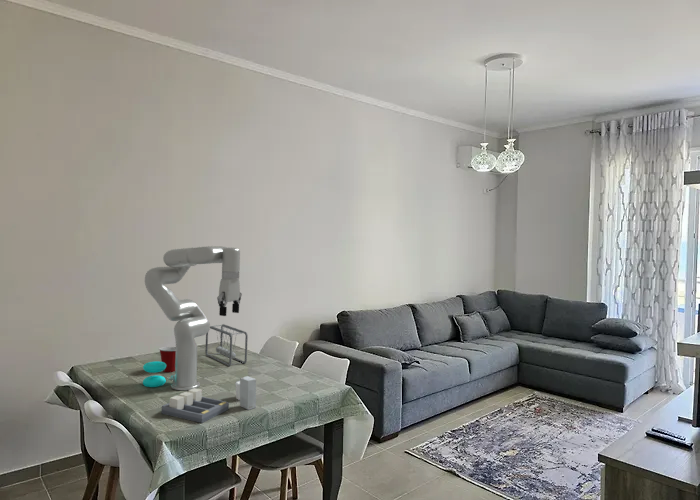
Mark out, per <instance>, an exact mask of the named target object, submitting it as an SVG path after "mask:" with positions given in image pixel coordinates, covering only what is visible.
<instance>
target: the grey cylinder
mask: <svg viewBox="0 0 700 500" xmlns="http://www.w3.org/2000/svg"><path fill="white" fill-rule="evenodd" d="M234 384H235V399H236V400H237V399H238V401H240V380H237V381H236V382H235V383H234Z"/></svg>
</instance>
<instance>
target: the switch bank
mask: <svg viewBox="0 0 700 500" xmlns="http://www.w3.org/2000/svg"><path fill="white" fill-rule="evenodd" d="M229 403H230V402H228V401H224V400H220V399H217V398H216V399H215V398H210V397H207V396H206V397H205V396H202V400H201V401H195V400H193V404H192V405H187V404H184V408H183V409H176V408H172V407H169V405H170V402H168V403H166V404H163V405H161V412H160V413H161V414H162V415H167V416H172V417H174V418H180V419H184V420H189V421H192V422H196V423H200V424H203V423H206V422H207V421H209V420H211V419H213V418H214V417H217V416H219V415H221V414H223V413H225V412H227V411H228V410H229V407H230V406H229V405H230V404H229Z"/></svg>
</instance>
